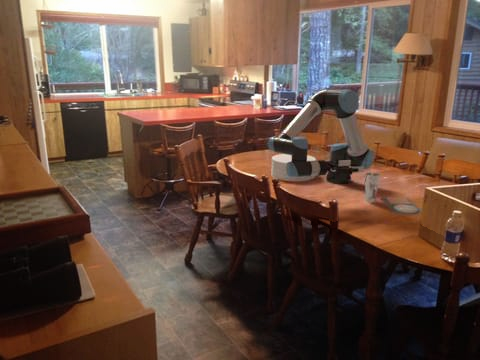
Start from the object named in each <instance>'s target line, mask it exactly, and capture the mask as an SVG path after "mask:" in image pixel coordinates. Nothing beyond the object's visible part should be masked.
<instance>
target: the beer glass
mask: <svg viewBox="0 0 480 360" xmlns="http://www.w3.org/2000/svg"><path fill="white" fill-rule="evenodd" d="M364 179H365V180H364V181H365V182H364V187H365V188H364V189H365V197H364V202H365V203H367V204H368V203H369V204H376V203H377V194H378V190H379V186H380V173H377V172H367V173H366V174H365V178H364Z"/></svg>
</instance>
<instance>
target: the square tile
mask: <svg viewBox="0 0 480 360" xmlns="http://www.w3.org/2000/svg"><path fill="white" fill-rule="evenodd" d="M384 198H385V199H386V200H387V201H388V202H389V203H390V204H391V205H399V204H404V205H411V203H410V202H409V201H408V200H407V199H408V198H405V197H390V196H389V197H387V196H386V197H384Z"/></svg>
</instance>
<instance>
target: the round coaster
mask: <svg viewBox="0 0 480 360" xmlns="http://www.w3.org/2000/svg"><path fill="white" fill-rule="evenodd" d="M394 210H396V211H398V212H401V213H408V214H407V215H413V214H412V213H417V212H418V209H417V208H416V207H414V206H411V205H404V204H399V205H395V206H394Z"/></svg>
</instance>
